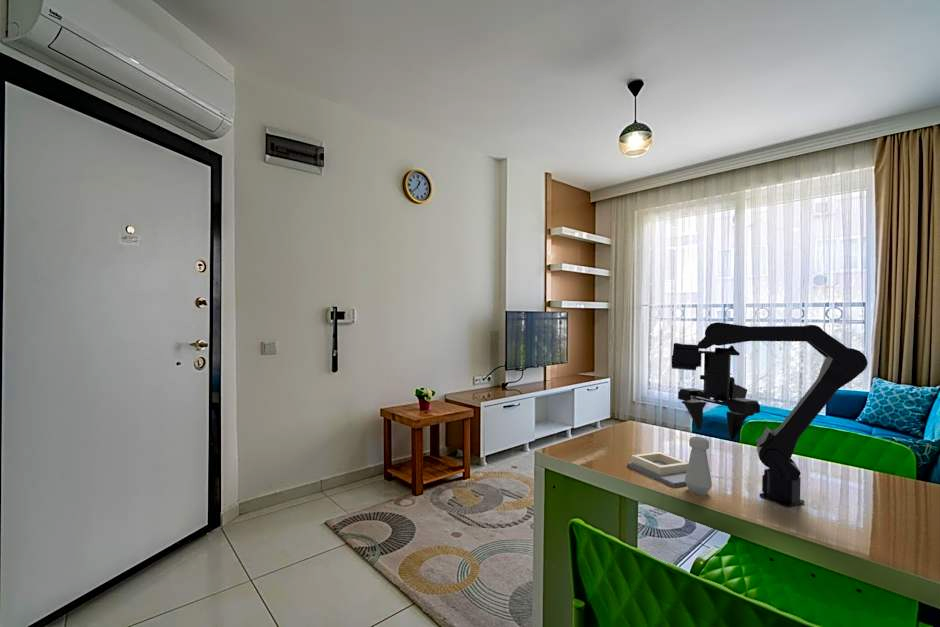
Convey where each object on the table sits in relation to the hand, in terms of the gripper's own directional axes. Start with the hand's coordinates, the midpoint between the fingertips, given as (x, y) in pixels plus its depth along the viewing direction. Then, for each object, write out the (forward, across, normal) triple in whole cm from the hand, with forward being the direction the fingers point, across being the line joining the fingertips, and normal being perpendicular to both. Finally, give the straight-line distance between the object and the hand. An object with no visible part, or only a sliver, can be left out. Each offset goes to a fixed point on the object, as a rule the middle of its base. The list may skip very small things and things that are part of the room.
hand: (715, 434), depth 107 cm
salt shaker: (+13, -1, +7) cm, 15 cm away
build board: (+13, +11, +4) cm, 18 cm away
